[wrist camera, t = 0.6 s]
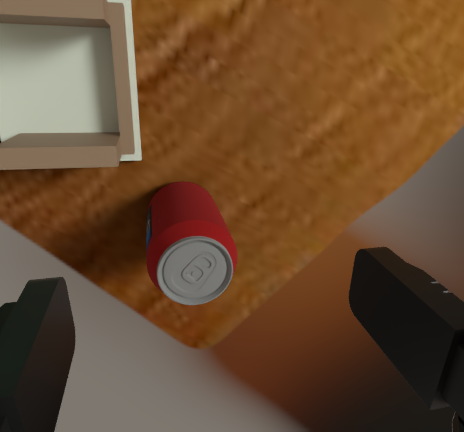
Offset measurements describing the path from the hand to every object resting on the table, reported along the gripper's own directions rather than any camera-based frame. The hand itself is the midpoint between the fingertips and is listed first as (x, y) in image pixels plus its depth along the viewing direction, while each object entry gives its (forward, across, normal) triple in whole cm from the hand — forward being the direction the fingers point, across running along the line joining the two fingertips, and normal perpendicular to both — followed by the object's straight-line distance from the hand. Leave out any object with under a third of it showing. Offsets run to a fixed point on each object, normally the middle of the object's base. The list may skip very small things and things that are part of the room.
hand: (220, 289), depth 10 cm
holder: (+26, +8, -4) cm, 27 cm away
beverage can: (+26, -1, +8) cm, 27 cm away
